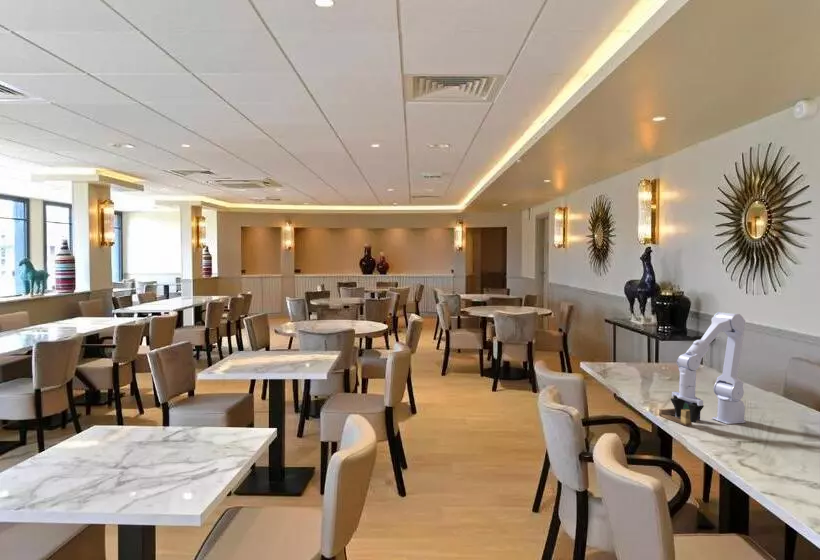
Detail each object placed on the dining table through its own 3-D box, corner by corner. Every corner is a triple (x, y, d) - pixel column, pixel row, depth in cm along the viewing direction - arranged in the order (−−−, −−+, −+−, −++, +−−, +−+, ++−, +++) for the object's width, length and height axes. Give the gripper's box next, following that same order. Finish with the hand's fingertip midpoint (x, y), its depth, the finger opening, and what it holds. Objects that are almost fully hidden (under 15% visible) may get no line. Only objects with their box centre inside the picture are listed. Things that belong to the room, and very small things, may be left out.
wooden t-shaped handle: (682, 413, 237) (683, 400, 236) (710, 424, 222) (711, 409, 222) (658, 415, 233) (659, 401, 233) (685, 426, 219) (686, 411, 219)
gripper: (665, 381, 226) (664, 414, 226) (692, 389, 212) (691, 425, 212) (680, 380, 228) (679, 413, 228) (708, 388, 214) (706, 424, 214)
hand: (686, 419), depth 220 cm, fingers open, 7 cm apart
